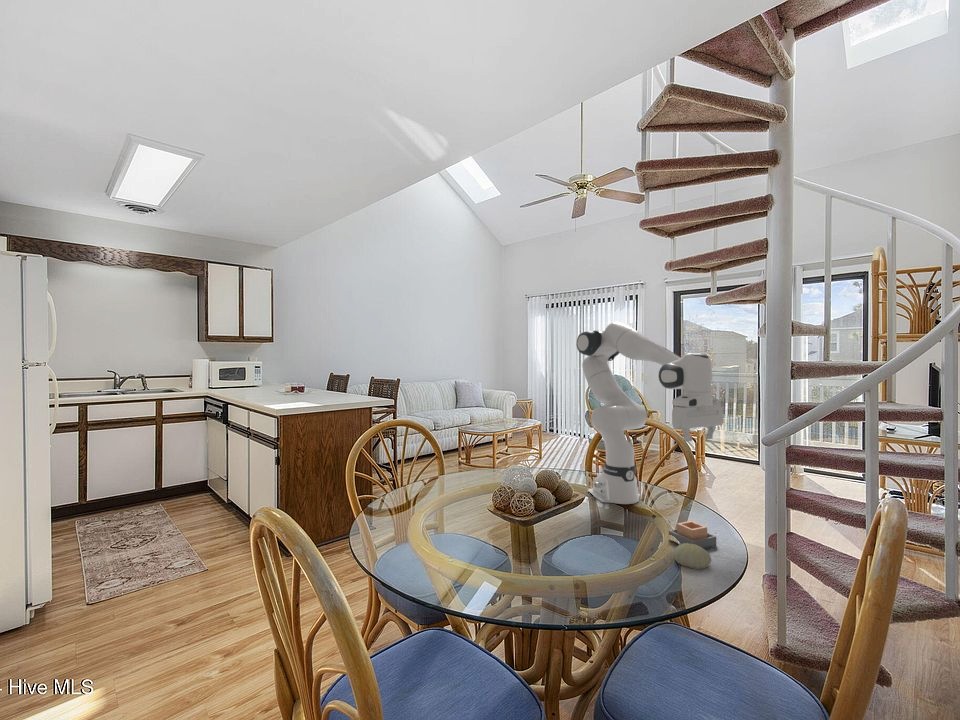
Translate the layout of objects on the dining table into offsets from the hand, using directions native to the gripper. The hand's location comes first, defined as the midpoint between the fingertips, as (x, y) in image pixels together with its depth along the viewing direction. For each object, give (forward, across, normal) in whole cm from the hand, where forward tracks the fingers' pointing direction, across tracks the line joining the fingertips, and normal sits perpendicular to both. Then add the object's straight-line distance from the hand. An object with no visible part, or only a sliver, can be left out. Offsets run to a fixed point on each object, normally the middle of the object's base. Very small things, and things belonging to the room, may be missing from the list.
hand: (698, 440), depth 151 cm
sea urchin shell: (+30, +25, +20) cm, 44 cm away
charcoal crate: (+29, +14, +10) cm, 34 cm away
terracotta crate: (+29, +14, +10) cm, 34 cm away
